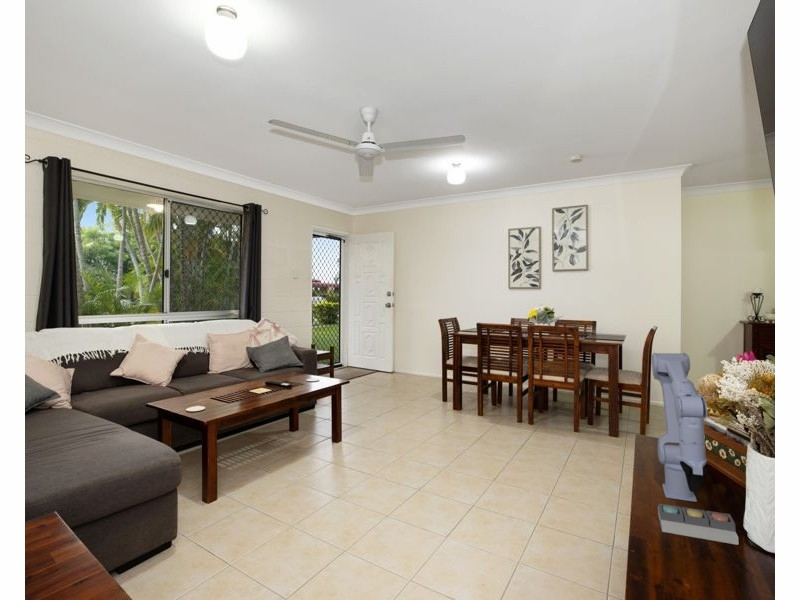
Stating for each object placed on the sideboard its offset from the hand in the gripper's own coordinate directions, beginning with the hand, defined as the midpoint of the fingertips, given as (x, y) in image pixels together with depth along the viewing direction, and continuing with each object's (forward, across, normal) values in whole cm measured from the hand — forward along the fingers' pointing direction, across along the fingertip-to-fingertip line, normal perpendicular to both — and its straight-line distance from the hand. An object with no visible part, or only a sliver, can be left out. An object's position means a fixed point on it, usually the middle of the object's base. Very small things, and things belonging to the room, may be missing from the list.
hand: (694, 491), depth 112 cm
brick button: (+7, 0, +5) cm, 9 cm away
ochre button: (+7, 0, 0) cm, 7 cm away
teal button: (+7, 0, -6) cm, 9 cm away
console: (+10, 0, 0) cm, 10 cm away
